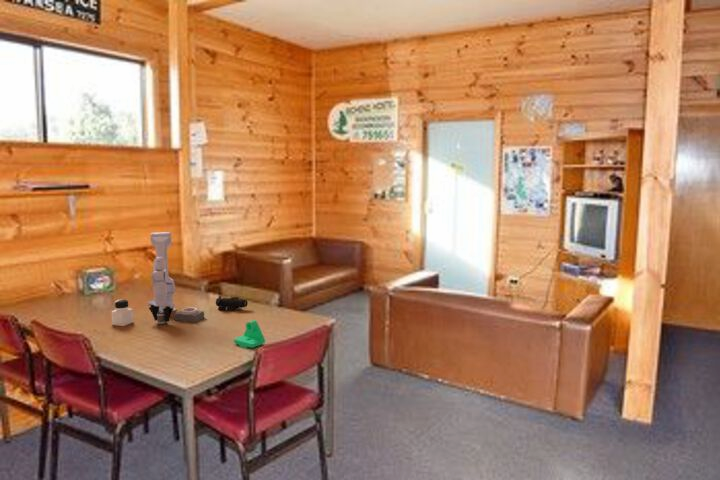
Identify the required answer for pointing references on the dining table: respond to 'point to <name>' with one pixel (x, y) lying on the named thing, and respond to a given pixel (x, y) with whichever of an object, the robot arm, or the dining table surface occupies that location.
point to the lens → (161, 318)
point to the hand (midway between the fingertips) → (162, 320)
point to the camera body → (189, 315)
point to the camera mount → (251, 336)
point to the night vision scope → (230, 303)
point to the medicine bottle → (122, 313)
